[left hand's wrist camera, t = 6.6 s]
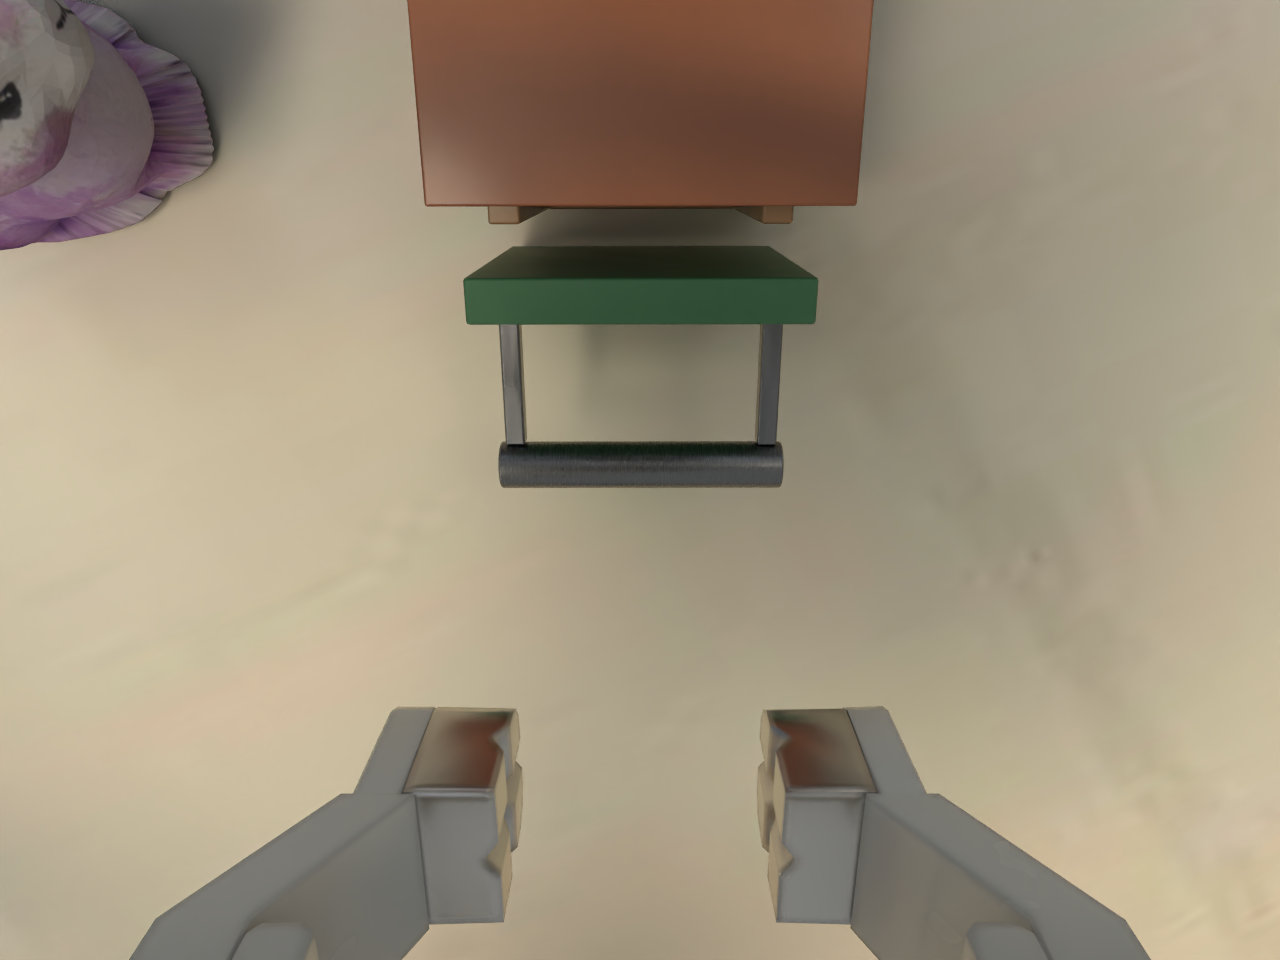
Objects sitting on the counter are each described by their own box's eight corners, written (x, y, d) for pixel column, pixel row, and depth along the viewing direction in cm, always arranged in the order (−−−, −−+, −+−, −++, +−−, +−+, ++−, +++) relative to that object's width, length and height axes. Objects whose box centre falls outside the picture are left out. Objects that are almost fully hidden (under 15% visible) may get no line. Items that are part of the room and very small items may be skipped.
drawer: (760, 434, 32) (801, 526, 24) (521, 434, 32) (480, 526, 24) (789, -144, 26) (859, -286, 18) (491, -144, 26) (421, -285, 18)
